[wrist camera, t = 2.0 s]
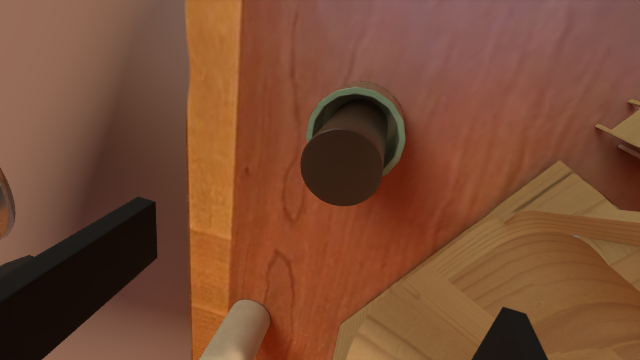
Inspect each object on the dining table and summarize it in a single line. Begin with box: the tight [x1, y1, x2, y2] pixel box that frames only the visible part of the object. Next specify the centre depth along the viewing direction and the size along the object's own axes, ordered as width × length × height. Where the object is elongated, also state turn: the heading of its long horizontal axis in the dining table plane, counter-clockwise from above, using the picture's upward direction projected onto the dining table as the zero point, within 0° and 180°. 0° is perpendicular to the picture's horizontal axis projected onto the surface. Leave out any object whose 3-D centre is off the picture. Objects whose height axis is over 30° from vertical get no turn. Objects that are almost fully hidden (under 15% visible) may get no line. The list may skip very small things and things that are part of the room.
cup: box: [306, 81, 406, 176], centre depth 27 cm, size 8×8×4 cm
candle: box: [199, 300, 270, 360], centre depth 38 cm, size 6×6×10 cm
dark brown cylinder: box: [301, 99, 388, 206], centre depth 24 cm, size 5×5×11 cm
